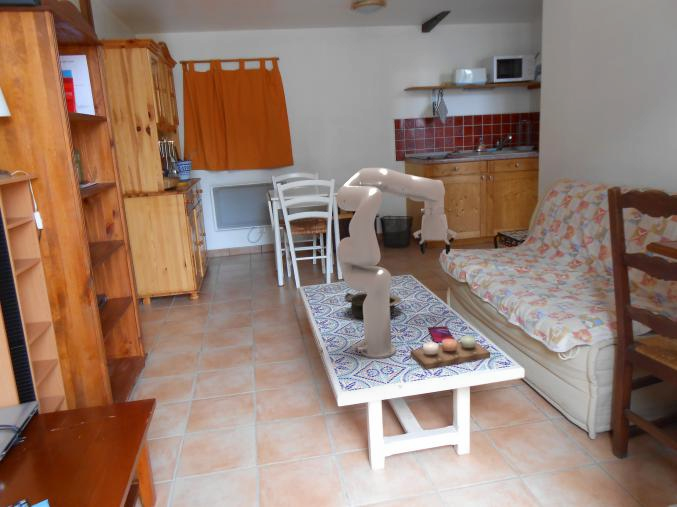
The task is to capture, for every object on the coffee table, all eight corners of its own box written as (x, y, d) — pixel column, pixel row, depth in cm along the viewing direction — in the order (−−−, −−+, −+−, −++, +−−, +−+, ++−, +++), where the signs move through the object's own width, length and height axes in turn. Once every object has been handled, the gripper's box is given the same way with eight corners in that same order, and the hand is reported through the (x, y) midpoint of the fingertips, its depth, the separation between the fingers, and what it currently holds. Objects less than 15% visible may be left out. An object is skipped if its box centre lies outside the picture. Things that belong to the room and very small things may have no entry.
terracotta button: (446, 352, 171) (446, 345, 170) (439, 346, 175) (439, 340, 175) (459, 349, 172) (459, 342, 171) (452, 344, 177) (452, 337, 176)
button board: (424, 369, 166) (424, 363, 165) (410, 355, 177) (410, 350, 177) (490, 357, 172) (490, 351, 171) (472, 344, 183) (472, 339, 182)
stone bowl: (338, 321, 215) (337, 300, 214) (355, 306, 239) (354, 287, 237) (395, 323, 207) (394, 301, 206) (407, 308, 231) (406, 288, 229)
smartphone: (434, 342, 186) (427, 327, 201) (434, 344, 187) (427, 329, 201) (455, 341, 186) (446, 326, 201) (455, 343, 187) (446, 328, 201)
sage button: (465, 348, 172) (464, 342, 172) (457, 343, 177) (457, 336, 177) (478, 346, 174) (478, 339, 173) (470, 340, 178) (470, 334, 178)
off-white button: (427, 355, 169) (426, 348, 169) (421, 349, 174) (420, 343, 173) (440, 353, 170) (440, 346, 170) (434, 347, 175) (434, 341, 174)
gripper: (410, 213, 201) (412, 255, 205) (454, 212, 194) (455, 256, 198) (415, 210, 208) (416, 251, 211) (457, 209, 201) (458, 251, 205)
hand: (435, 253), depth 205 cm, fingers open, 9 cm apart
